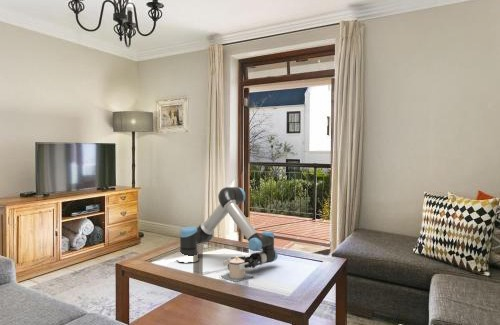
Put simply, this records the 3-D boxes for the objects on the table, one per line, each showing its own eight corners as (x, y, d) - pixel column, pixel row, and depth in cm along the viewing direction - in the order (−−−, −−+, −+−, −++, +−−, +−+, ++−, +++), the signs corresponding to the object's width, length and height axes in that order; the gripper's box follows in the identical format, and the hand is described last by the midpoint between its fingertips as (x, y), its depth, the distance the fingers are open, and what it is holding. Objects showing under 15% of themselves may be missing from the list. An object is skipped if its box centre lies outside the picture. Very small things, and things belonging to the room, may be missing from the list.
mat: (218, 277, 179) (218, 276, 179) (237, 272, 189) (237, 271, 189) (234, 282, 169) (234, 281, 169) (253, 277, 179) (253, 276, 179)
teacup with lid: (248, 276, 178) (248, 256, 179) (237, 280, 171) (237, 259, 172) (233, 273, 186) (233, 253, 187) (222, 276, 179) (222, 255, 180)
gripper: (272, 268, 183) (246, 276, 168) (244, 261, 201) (218, 267, 186) (272, 255, 183) (246, 261, 169) (244, 249, 201) (218, 254, 186)
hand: (231, 264), depth 177 cm, fingers open, 13 cm apart
